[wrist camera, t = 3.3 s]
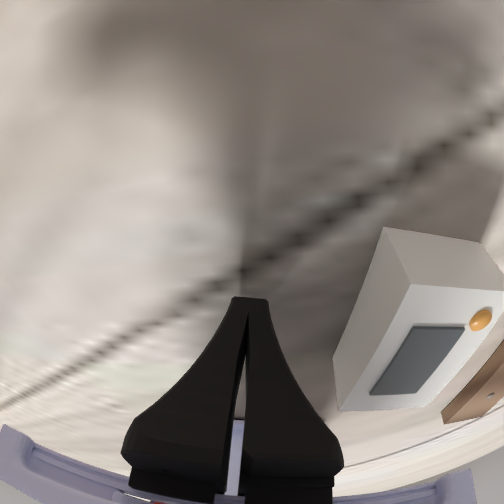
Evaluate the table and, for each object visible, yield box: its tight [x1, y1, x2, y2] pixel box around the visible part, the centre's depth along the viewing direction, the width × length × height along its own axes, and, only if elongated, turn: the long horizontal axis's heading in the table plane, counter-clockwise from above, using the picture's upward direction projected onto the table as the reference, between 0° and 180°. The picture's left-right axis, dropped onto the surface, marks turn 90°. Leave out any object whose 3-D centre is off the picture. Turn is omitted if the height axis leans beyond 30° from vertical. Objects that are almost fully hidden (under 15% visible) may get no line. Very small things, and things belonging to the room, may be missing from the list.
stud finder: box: [332, 227, 504, 411], centre depth 12 cm, size 8×5×4 cm, turn 175°
